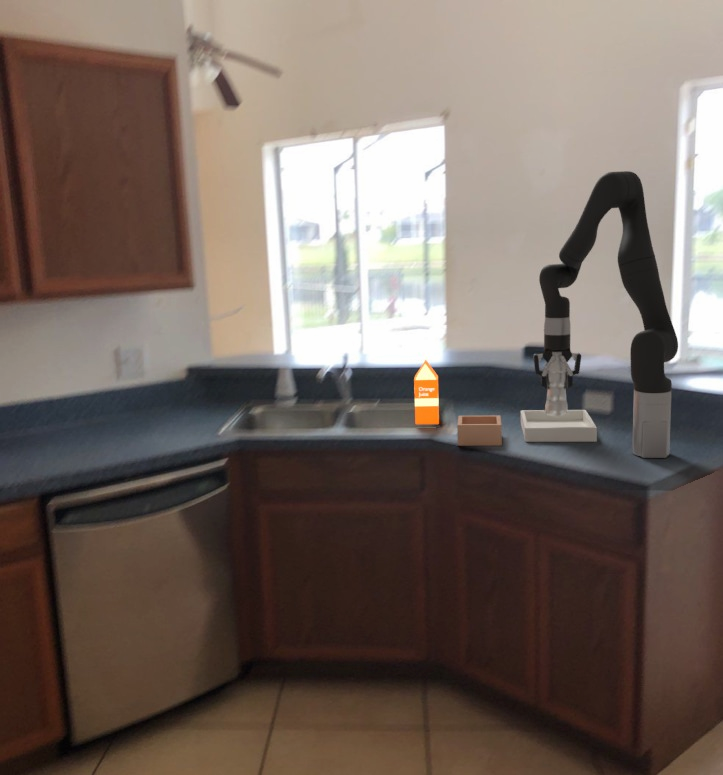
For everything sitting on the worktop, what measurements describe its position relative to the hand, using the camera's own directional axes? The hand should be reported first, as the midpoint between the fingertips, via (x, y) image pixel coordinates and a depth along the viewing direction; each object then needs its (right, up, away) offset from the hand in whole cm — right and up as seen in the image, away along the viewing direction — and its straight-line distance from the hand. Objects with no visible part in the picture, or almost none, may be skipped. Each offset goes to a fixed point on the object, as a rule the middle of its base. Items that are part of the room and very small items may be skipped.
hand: (556, 388), depth 230 cm
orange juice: (-37, -11, +23) cm, 45 cm away
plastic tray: (+1, -13, +2) cm, 13 cm away
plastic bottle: (0, -9, +2) cm, 9 cm away
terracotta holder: (-24, -15, -4) cm, 28 cm away
